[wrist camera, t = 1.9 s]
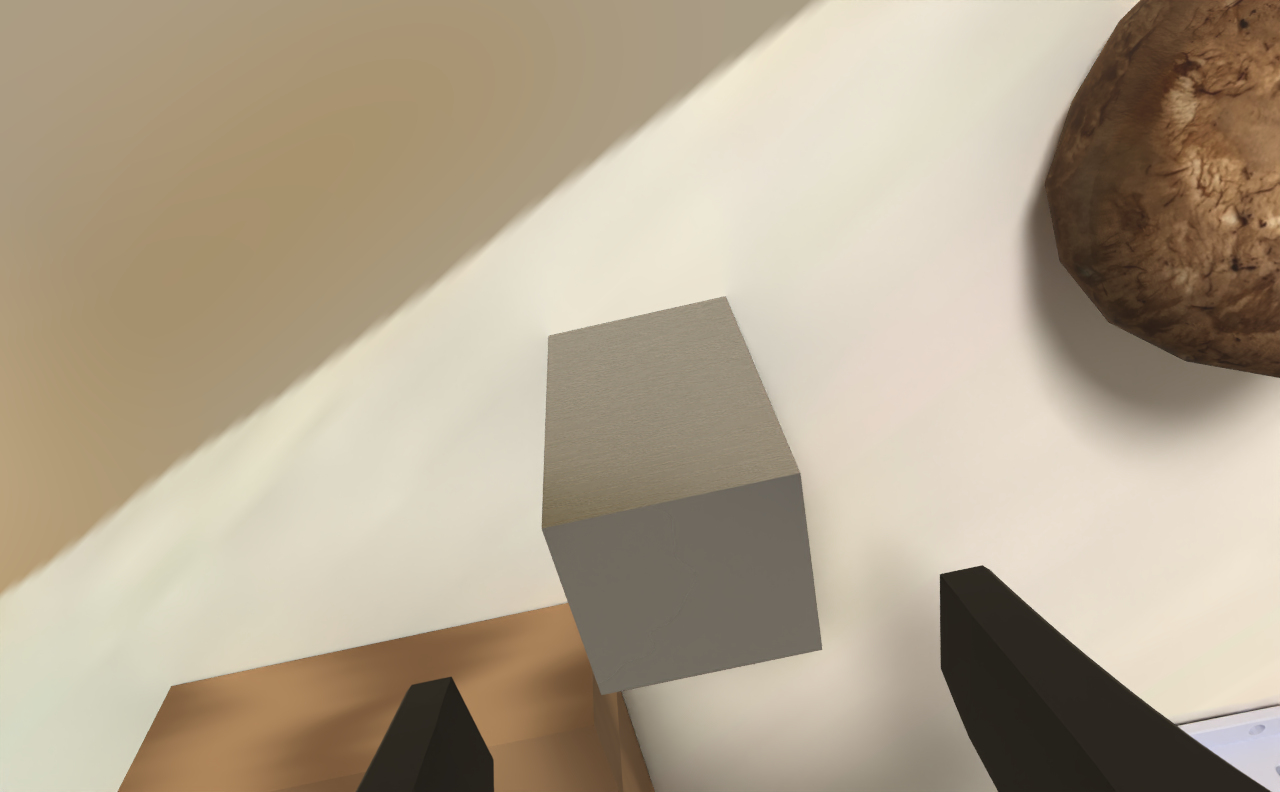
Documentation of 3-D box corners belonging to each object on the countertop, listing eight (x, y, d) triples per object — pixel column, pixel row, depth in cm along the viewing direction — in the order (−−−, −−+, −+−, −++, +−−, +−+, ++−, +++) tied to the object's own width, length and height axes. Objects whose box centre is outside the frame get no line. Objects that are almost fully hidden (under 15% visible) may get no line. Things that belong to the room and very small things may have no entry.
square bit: (725, 295, 18) (800, 473, 12) (749, 441, 20) (822, 649, 14) (548, 335, 18) (542, 528, 12) (591, 475, 20) (601, 695, 14)
